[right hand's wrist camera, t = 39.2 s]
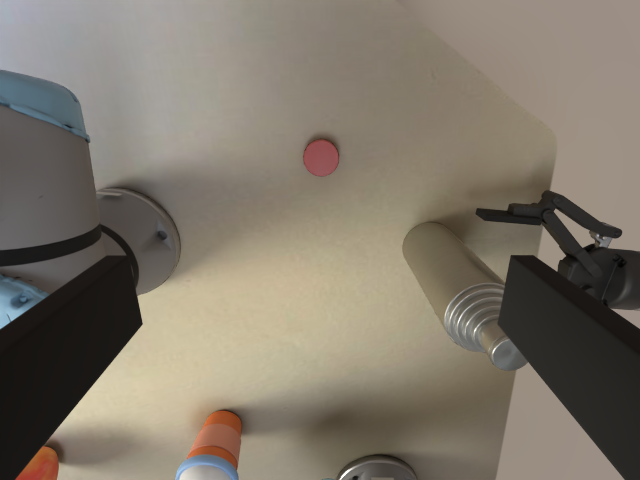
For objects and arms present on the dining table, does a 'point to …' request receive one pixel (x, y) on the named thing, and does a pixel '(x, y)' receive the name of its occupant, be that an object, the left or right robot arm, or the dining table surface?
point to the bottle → (461, 292)
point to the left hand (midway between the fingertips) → (467, 266)
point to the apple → (41, 466)
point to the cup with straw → (214, 450)
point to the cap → (321, 157)
